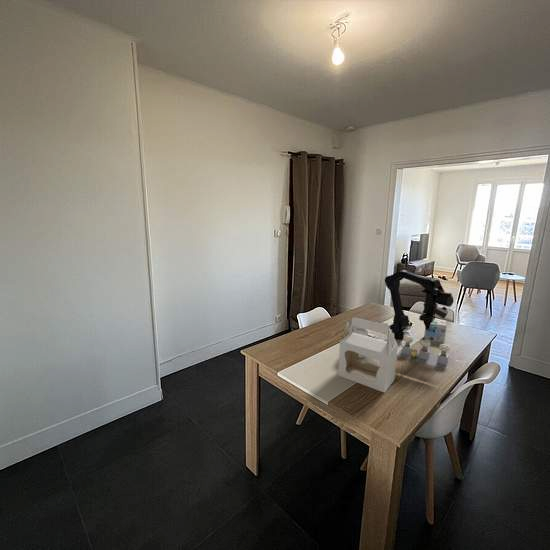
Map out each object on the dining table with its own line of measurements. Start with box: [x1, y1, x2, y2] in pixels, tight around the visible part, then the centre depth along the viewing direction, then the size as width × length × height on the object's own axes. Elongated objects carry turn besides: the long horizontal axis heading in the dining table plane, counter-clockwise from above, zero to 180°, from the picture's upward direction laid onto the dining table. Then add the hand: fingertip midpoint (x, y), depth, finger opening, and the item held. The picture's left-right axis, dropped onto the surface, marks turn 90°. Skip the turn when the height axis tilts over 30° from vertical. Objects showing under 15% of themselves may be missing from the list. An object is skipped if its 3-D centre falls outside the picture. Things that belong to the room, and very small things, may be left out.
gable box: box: [337, 316, 399, 394], centre depth 134 cm, size 22×13×28 cm, turn 51°
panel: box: [397, 343, 453, 371], centre depth 153 cm, size 24×13×5 cm, turn 53°
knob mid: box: [420, 339, 431, 352], centre depth 153 cm, size 4×4×6 cm
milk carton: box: [353, 326, 369, 359], centre depth 157 cm, size 7×7×19 cm
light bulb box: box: [423, 320, 447, 343], centre depth 178 cm, size 11×7×11 cm, turn 68°
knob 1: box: [403, 335, 414, 347], centre depth 158 cm, size 4×4×6 cm
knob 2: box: [438, 343, 451, 357], centre depth 147 cm, size 4×4×6 cm
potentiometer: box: [410, 349, 418, 360], centre depth 153 cm, size 3×3×4 cm
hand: (427, 329), depth 161 cm, fingers closed
